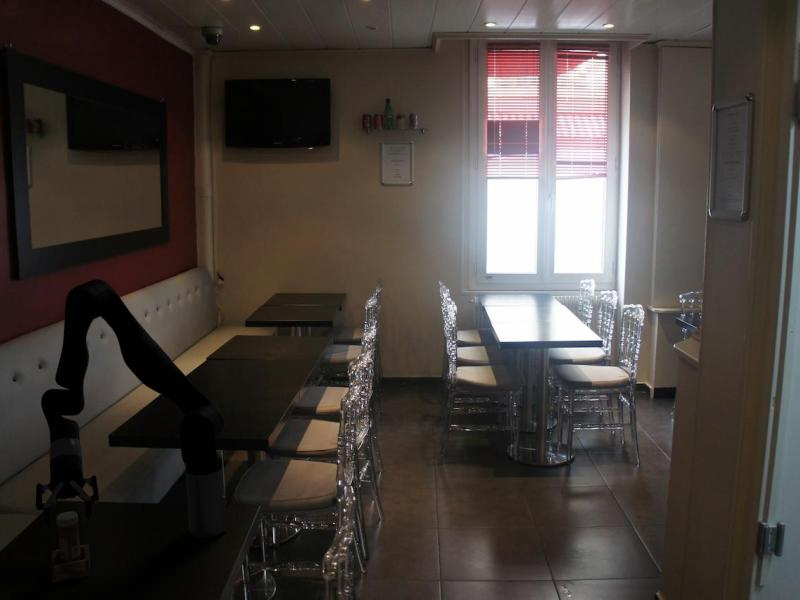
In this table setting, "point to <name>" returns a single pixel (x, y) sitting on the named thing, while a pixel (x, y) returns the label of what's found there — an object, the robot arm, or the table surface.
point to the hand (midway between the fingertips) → (68, 521)
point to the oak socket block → (70, 566)
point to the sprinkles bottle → (68, 537)
